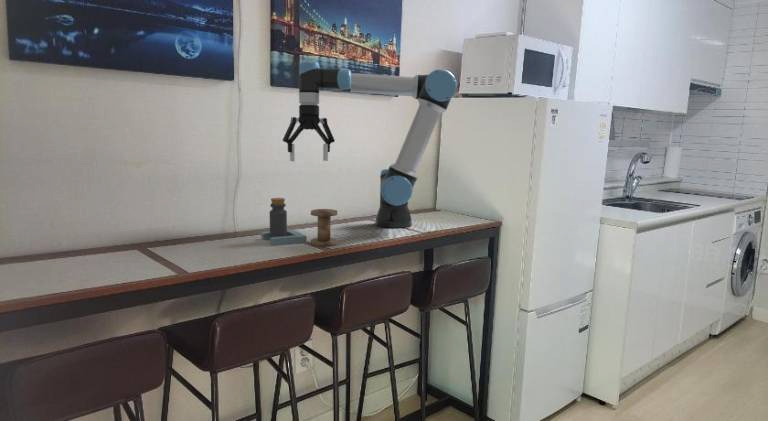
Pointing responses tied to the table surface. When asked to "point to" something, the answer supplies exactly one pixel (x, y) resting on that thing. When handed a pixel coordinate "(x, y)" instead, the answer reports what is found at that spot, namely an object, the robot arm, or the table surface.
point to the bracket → (285, 238)
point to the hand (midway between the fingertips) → (309, 161)
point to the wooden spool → (324, 227)
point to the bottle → (278, 218)
